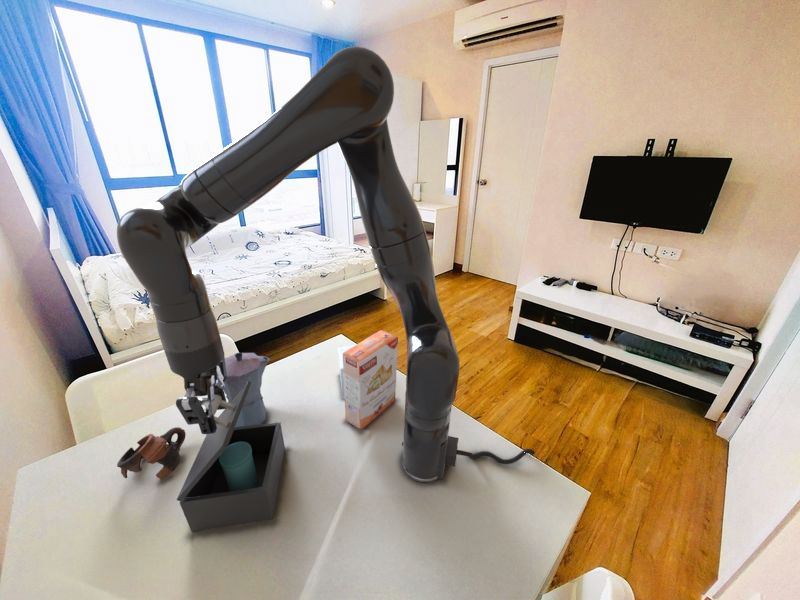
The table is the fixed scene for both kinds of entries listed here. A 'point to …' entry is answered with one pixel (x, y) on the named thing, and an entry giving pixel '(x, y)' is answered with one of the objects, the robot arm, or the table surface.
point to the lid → (215, 438)
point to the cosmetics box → (340, 359)
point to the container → (239, 466)
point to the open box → (227, 508)
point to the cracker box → (370, 378)
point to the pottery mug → (154, 453)
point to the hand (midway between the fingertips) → (215, 419)
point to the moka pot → (238, 374)
